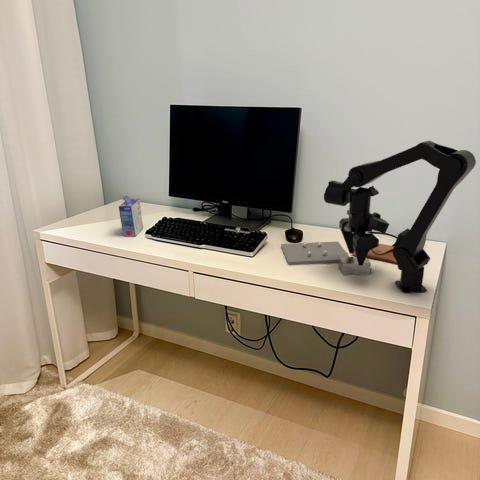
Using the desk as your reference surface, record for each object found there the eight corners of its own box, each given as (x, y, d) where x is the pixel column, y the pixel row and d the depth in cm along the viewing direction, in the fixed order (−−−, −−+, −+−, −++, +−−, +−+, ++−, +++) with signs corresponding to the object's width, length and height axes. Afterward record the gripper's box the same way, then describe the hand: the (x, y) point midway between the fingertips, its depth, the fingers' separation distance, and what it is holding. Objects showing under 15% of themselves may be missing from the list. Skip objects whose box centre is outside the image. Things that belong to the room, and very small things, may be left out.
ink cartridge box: (130, 228, 176) (126, 193, 171) (143, 228, 175) (140, 193, 170) (121, 236, 166) (117, 199, 161) (135, 236, 166) (131, 199, 161)
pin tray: (351, 262, 138) (351, 254, 137) (288, 264, 137) (288, 257, 137) (337, 244, 153) (338, 237, 152) (281, 246, 152) (281, 239, 152)
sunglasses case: (348, 255, 143) (353, 236, 144) (353, 259, 149) (358, 240, 150) (405, 266, 134) (410, 245, 135) (408, 270, 140) (413, 250, 141)
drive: (371, 275, 130) (372, 262, 128) (343, 276, 129) (343, 263, 128) (366, 268, 134) (366, 256, 133) (338, 269, 134) (339, 257, 133)
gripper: (400, 217, 116) (394, 270, 122) (376, 199, 134) (372, 246, 139) (358, 219, 116) (355, 272, 121) (340, 200, 133) (337, 248, 139)
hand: (355, 259), depth 130 cm, fingers open, 9 cm apart
